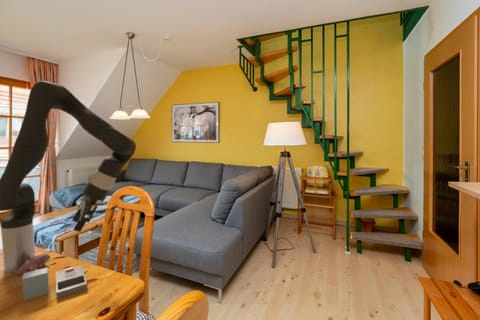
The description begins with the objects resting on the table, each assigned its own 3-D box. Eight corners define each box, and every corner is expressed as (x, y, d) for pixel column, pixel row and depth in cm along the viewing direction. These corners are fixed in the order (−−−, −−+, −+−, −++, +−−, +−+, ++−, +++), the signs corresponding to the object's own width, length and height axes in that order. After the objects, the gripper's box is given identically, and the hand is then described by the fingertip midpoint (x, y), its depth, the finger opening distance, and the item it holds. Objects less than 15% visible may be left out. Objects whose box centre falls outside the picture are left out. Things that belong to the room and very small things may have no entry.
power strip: (56, 281, 87) (55, 270, 86) (82, 273, 92) (82, 263, 91) (57, 303, 75) (56, 291, 75) (87, 293, 80) (86, 281, 80)
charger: (25, 298, 77) (23, 273, 77) (49, 291, 81) (47, 267, 80) (24, 305, 74) (22, 279, 74) (48, 297, 78) (47, 272, 77)
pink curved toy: (22, 281, 89) (28, 266, 88) (13, 275, 90) (19, 259, 89) (48, 267, 99) (54, 253, 98) (39, 261, 100) (45, 247, 98)
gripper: (87, 176, 92) (63, 215, 89) (92, 186, 81) (64, 231, 78) (107, 184, 96) (85, 221, 94) (114, 194, 85) (89, 236, 83)
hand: (75, 225), depth 86 cm, fingers open, 8 cm apart
